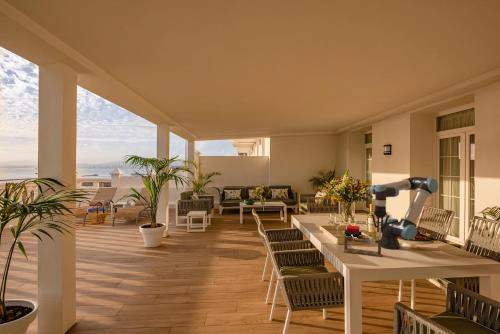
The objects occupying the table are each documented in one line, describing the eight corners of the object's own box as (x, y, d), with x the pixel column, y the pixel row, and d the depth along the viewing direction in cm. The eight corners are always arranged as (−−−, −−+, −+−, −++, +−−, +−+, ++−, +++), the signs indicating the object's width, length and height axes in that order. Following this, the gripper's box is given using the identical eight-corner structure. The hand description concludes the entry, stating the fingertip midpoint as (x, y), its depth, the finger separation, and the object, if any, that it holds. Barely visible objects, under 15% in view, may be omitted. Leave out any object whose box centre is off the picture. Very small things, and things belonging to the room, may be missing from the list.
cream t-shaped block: (375, 243, 225) (375, 230, 224) (375, 245, 221) (375, 232, 220) (369, 242, 226) (369, 230, 226) (369, 244, 222) (369, 231, 222)
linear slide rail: (380, 253, 225) (381, 238, 225) (380, 257, 218) (381, 241, 217) (344, 249, 235) (345, 235, 235) (343, 252, 228) (344, 237, 227)
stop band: (354, 240, 230) (354, 236, 230) (354, 241, 227) (354, 237, 227) (352, 240, 230) (353, 236, 230) (352, 241, 227) (352, 237, 227)
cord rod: (379, 243, 223) (379, 239, 223) (379, 244, 220) (379, 240, 220) (346, 239, 232) (346, 235, 232) (345, 240, 229) (345, 236, 229)
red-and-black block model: (343, 230, 262) (345, 224, 285) (343, 240, 262) (345, 233, 285) (361, 232, 256) (361, 226, 279) (360, 242, 256) (361, 235, 279)
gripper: (371, 205, 219) (370, 237, 220) (390, 206, 214) (389, 239, 215) (371, 204, 226) (370, 234, 227) (389, 205, 221) (389, 236, 222)
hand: (379, 236), depth 221 cm, fingers closed
